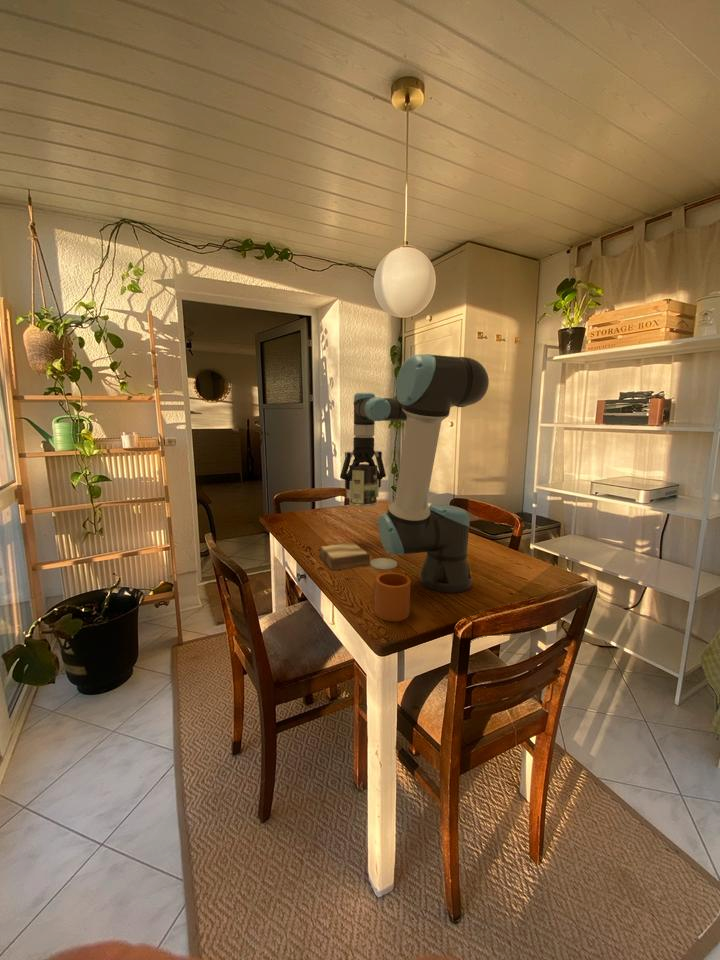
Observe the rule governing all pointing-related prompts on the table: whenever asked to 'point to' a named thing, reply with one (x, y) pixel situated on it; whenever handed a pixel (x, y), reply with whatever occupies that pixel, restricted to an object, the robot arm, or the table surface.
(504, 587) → the table surface
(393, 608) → the mug
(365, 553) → the block
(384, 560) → the felt coaster
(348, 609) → the table surface
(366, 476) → the coffee can
